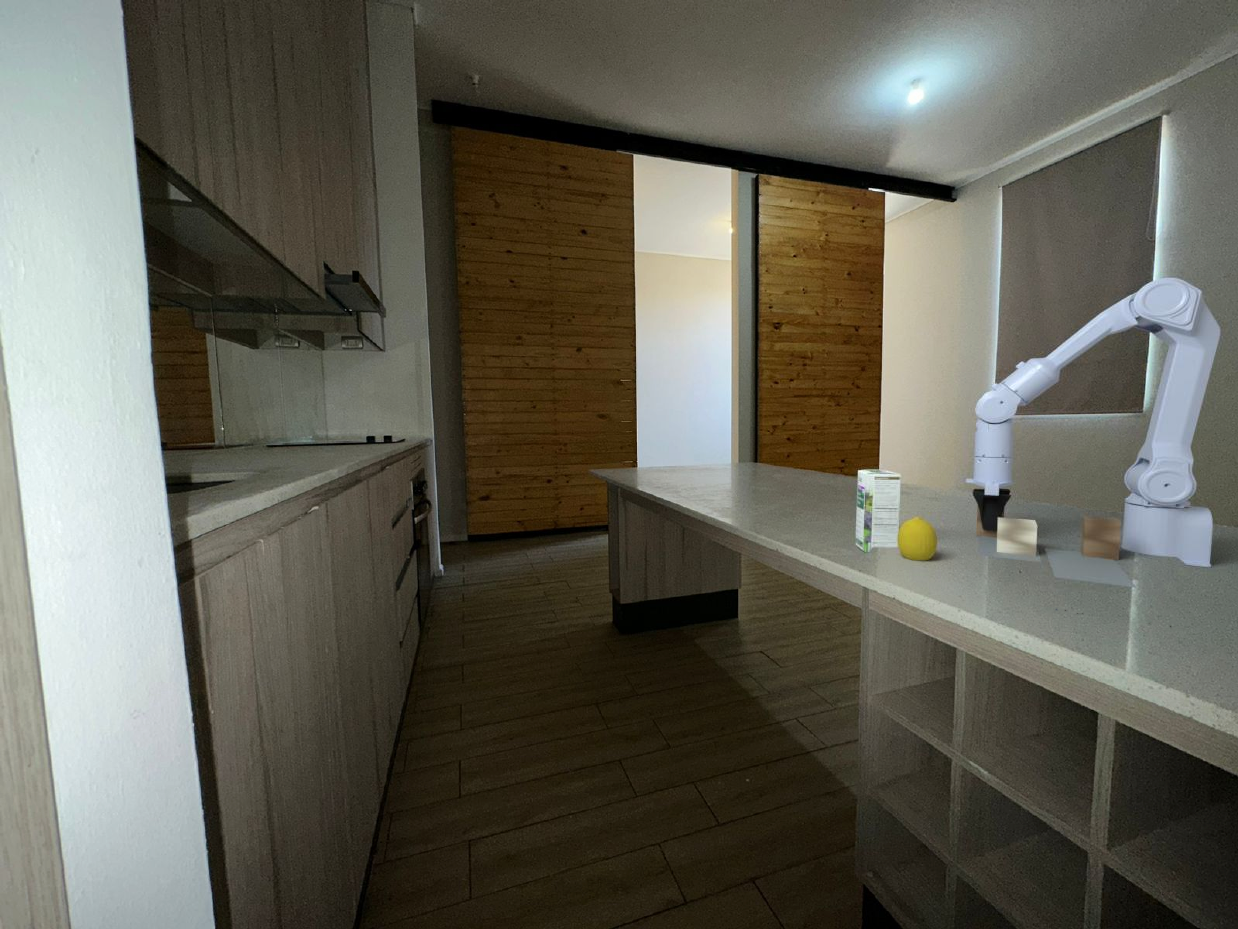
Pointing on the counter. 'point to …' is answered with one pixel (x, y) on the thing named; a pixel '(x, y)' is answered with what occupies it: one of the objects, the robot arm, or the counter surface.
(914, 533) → the lemon
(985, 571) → the counter surface
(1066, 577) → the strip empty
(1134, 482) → the robot arm
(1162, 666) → the counter surface
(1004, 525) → the block
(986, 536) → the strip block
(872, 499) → the syrup box
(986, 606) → the counter surface
